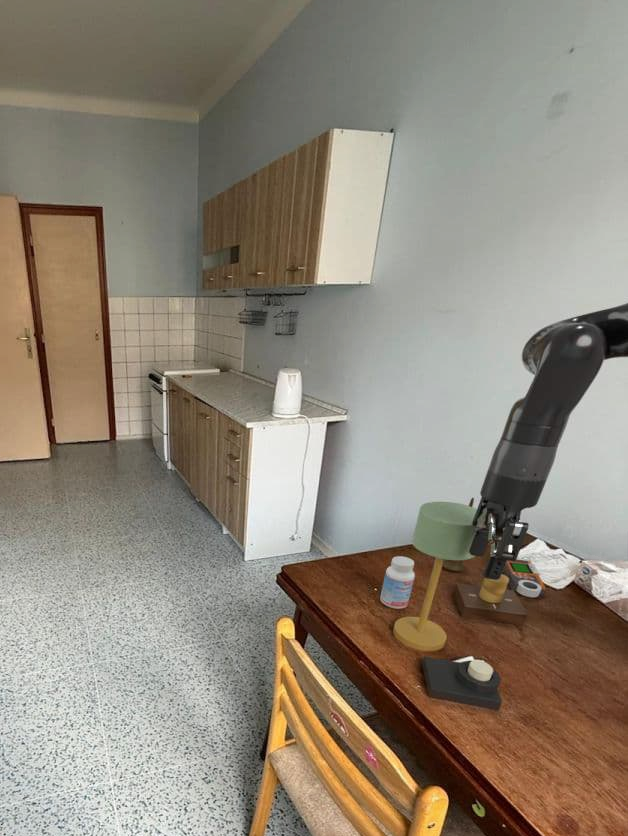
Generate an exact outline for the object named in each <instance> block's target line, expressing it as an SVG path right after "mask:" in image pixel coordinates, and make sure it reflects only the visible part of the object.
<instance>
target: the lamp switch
mask: <svg viewBox="0 0 628 836" xmlns="http://www.w3.org/2000/svg"><path fill="white" fill-rule="evenodd" d="M470 661H471V662H470V665H469V667H468V670H467V671H468V674H469V675H470V676H471V677H473V678H475V679H477V680H480V681H488V680H490V678H491V676H492V673H493V669H494V668H493V667H492V665H490V664H489V663H488V662H485V661H483V660H477V659H476V660H475V659H474V660H470Z"/></svg>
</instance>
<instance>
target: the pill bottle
mask: <svg viewBox="0 0 628 836" xmlns="http://www.w3.org/2000/svg"><path fill="white" fill-rule="evenodd" d="M414 566H415V561H414V560H413V559H412V558H409V557H406V556H401V555H398V556H394V557H392V559H391V562H390V566H388V567H387V568H386V571H385V574H384V579H383V583H382V586H381V592H380V597H379V600H380V603H382V604H383V606H386V607H388V608H391V609H393V610H394V609H396V610H401V609H402V610H403V609H405V608H406V607H407V606H408V605H409V600H410V597H411V593H412V589H413V586H414V581H415V577H416V574H415V571H414V570H413V569H414V568H415V567H414Z"/></svg>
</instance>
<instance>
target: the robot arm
mask: <svg viewBox="0 0 628 836" xmlns="http://www.w3.org/2000/svg"><path fill="white" fill-rule="evenodd" d="M617 358H618V359H619V358H628V302H626V303H624V304H621V305H620V304H619V305H617V306H613V307H609V308H605V309H601V310H597V311H592V312H588V313H585V314H581V315H577V316H573V317H569V318H566V319H563V320H559V321H556V322H554V323H550V324H549V325H546V326H544V327H542V328H541V329H539V330H537V331H536V332H535V333H534V334H532V335H531V337H529V339H528V340H527V341H526V343H525V344H524V346H523V348H522V352H521V362H522V366H523V367H524V369H526V371H527V372H528V373H530V374H531V375H533V376H534V377H533V380H532V382H531V383H530V385H529V388H528V390H527V391H526V393H525V396H524V397H520V398H519V399H517V400H516V401H515V402H514V403H513V405H512V407H511V409H510V410H509V413H508V415H507V419H506V421H505V425H504V428H503V430H502V433H501V437H500V438H499V441H498V443H497V445H496V446H495V449H494V451H493V454H492V457H491V459H490V463H489V465H488V467H487V471H486V473H485V477H484V480H483V483H482V485H481V489H480V491H479V494H480V496H481V498H480V499H479V503H478V506H477V508H476V509H477V511H476V514H475V517H474V519H473V522H472V525H473V526H475V528H474V533H476V534H475V535H474V538H473V541H472V544H471V547H470V549H469V553H470V554H471V555H473V556H474V557H484V556H485V554H486V550H487V548H488V546H489V543H490V553H489V556H488V558H487V562H486V564H485V567H484V569H483V572H482V576H483V577H484V578H487V579H493V580H498V579H499V578H500V576H501V574H503V569H504V566H505V563H506V561H507V560H511V561H516V559H517V560H518V556H519V553H520V551H521V549H522V546H523V543H524V540H525V537H526V536H527V532H528V530H529V526H530V525H529V522H523V521H521V514H522V511H523V510H525V509H531V508H534V507H536V506H537V505H538V503H539V500H540V498H541V495H542V493H543V490H544V487H545V486H546V483H547V481H548V478H549V475H550V473H551V471H552V468H553V466H554V463H555V460H556V457H557V451H558V449H559V448H558V447H559V445H560V443H561V440H562V438H563V435H564V434H565V430H566V428H567V426H568V422H569V419H570V417H571V414H572V413H573V412H574V410H575V408H577V406H578V404H580V402H581V401H582V400H583V398H584V396H585V394H586V393H587V391H588V390H589V388H590V387H591V385H592V384H593V382H594V381H595V379H596V377H597V376H598V374H599V373H600V370H601V368H602V366H603V364H604V361H606V360H610V359H617Z"/></svg>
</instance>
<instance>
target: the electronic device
mask: <svg viewBox="0 0 628 836" xmlns="http://www.w3.org/2000/svg"><path fill="white" fill-rule="evenodd" d="M502 574H503V575H505V576H507V577H508V578H509V582H508V584H507V585H508V586H509V588H510V590H514V592H517V593H518V594H519V595H522V596H524V597H527V598H537V597H539V596H540V595H541V596H544V595H545V593H546V590H547V587H546V586H545V584H544V582H543V581H542V579H541V577H540V575H541V573H540V572H539V571H538V569H537V567H536V565H535V564H534V563H532V561H530V560H525V559H518V558H517V559H516V561H511V560H507V561H506V563H505V566H504V569H503V571H502Z"/></svg>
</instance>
